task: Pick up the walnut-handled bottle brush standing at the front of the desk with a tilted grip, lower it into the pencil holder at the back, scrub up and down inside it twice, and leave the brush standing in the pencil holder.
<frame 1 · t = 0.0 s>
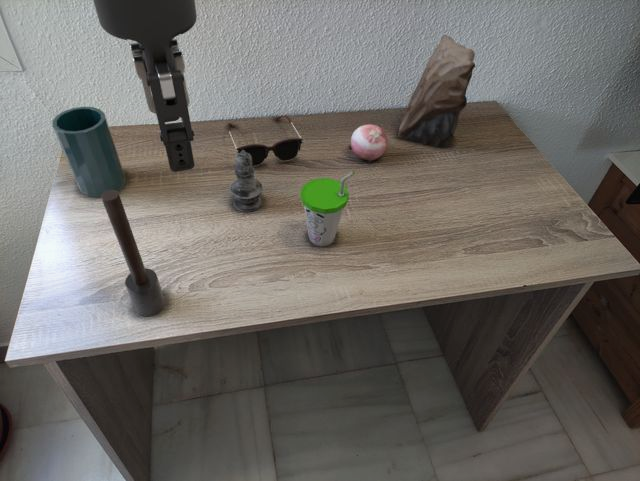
hand: (175, 143, 46), 32 cm above the table, tool pointing down, fingers open, 8 cm apart
chess piece: (247, 203, 88), on the table
pencil holder: (102, 183, 90), on the table
onion: (366, 155, 101), on the table
cup: (321, 238, 83), on the table
brown rock: (422, 133, 108), on the table
sunglasses: (262, 143, 102), on the table
brush: (150, 304, 71), on the table
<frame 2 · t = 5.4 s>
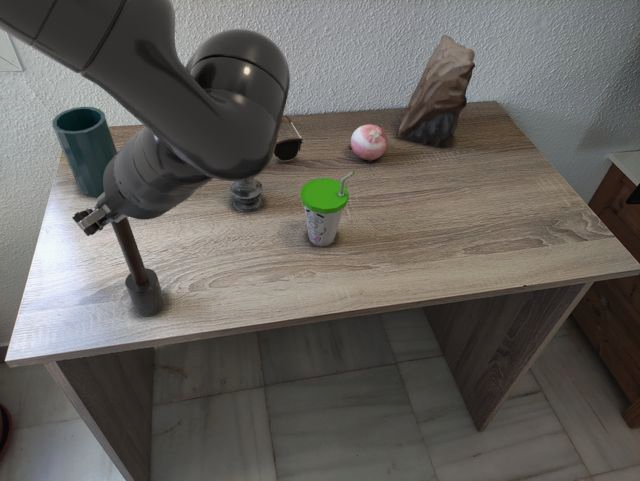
hand: (107, 213, 59), 18 cm above the table, tool tilted 45°, fingers closed on brush, 2 cm apart
brush: (150, 304, 71), on the table, touching gripper
everything else where it was.
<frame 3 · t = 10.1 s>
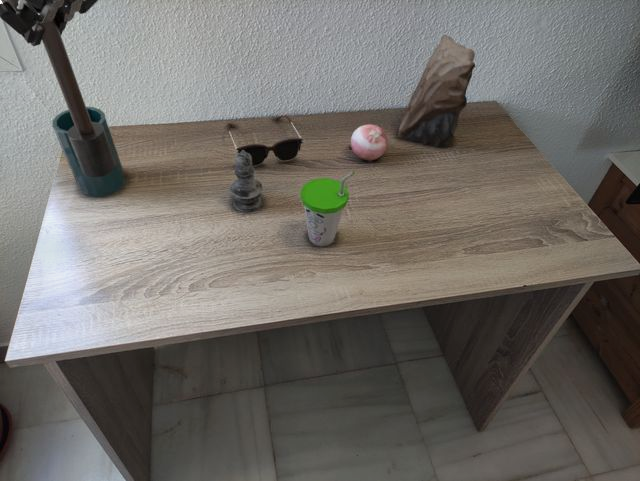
hand: (40, 34, 53), 36 cm above the table, tool tilted 45°, fingers closed on brush
brush: (99, 167, 65), point 18 cm above the table, touching gripper
everything else where it was.
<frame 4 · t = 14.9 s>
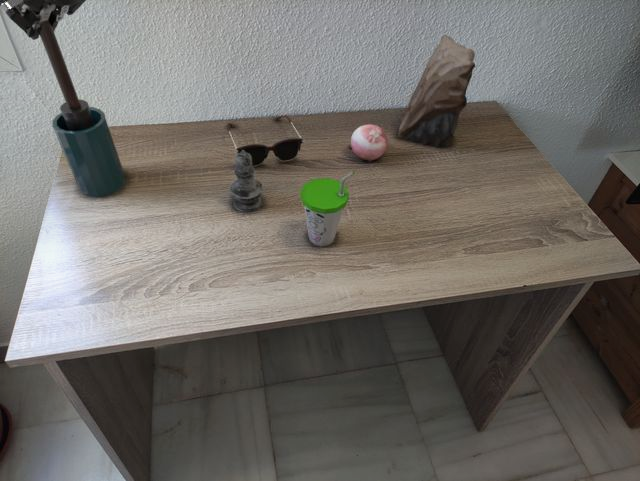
hand: (38, 30, 70), 28 cm above the table, tool tilted 45°, fingers closed on brush
brush: (85, 136, 83), point 11 cm above the table, touching gripper
everything else where it was.
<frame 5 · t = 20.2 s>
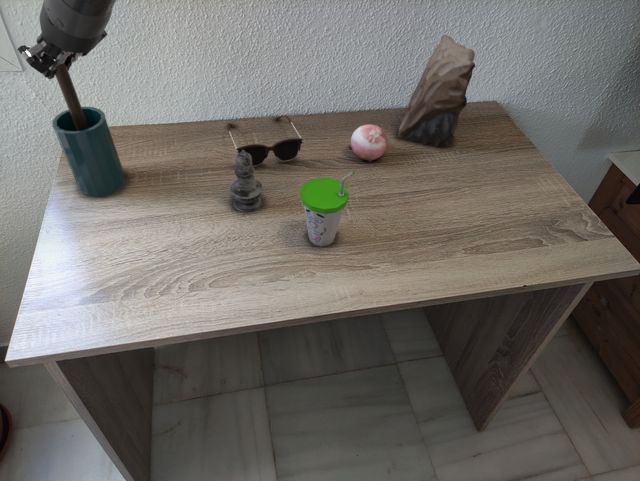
hand: (53, 70, 75), 22 cm above the table, tool tilted 45°, fingers closed on brush
brush: (96, 165, 87), point 4 cm above the table, touching gripper
everything else where it was.
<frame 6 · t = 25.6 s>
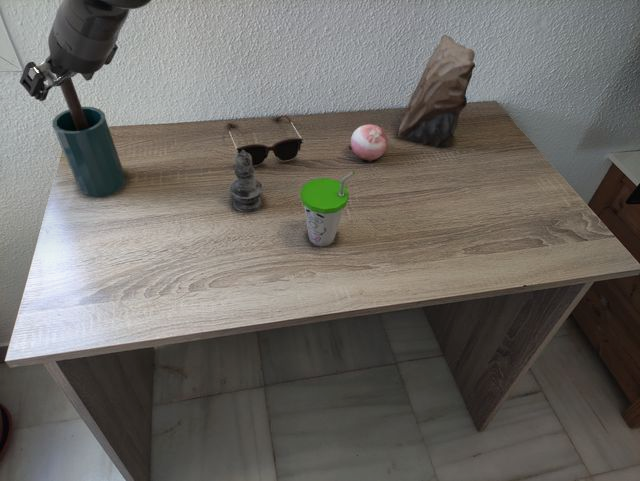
hand: (61, 85, 76), 20 cm above the table, tool tilted 45°, fingers open, 8 cm apart
brush: (102, 179, 90), point 1 cm above the table, touching pencil holder
everything else where it was.
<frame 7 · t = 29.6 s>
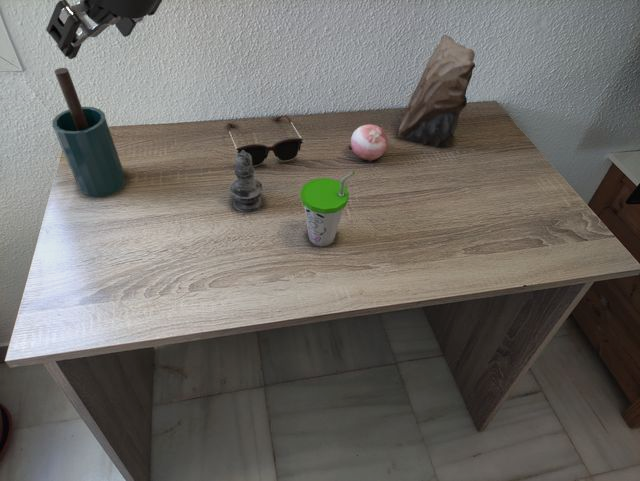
hand: (95, 40, 61), 32 cm above the table, tool tilted 45°, fingers open, 8 cm apart
nothing on the table moved.
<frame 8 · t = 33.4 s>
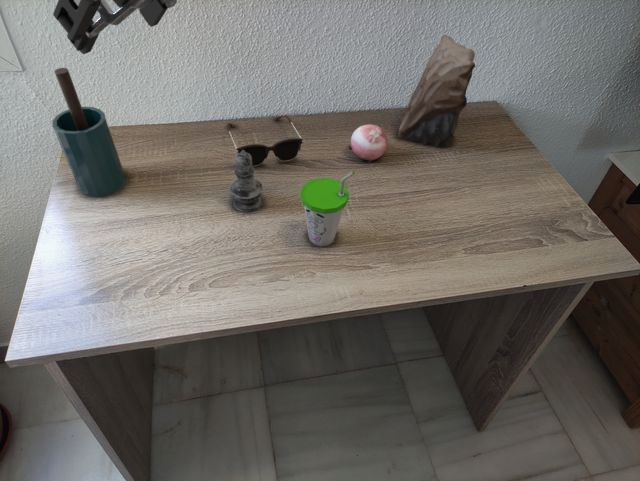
hand: (114, 30, 48), 39 cm above the table, tool tilted 45°, fingers open, 8 cm apart
nothing on the table moved.
at the end: brush 0.1 cm off-centre in the pencil holder, point 0.8 cm above the pencil holder's base; brush tilted 0°; the gripper is holding nothing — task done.
